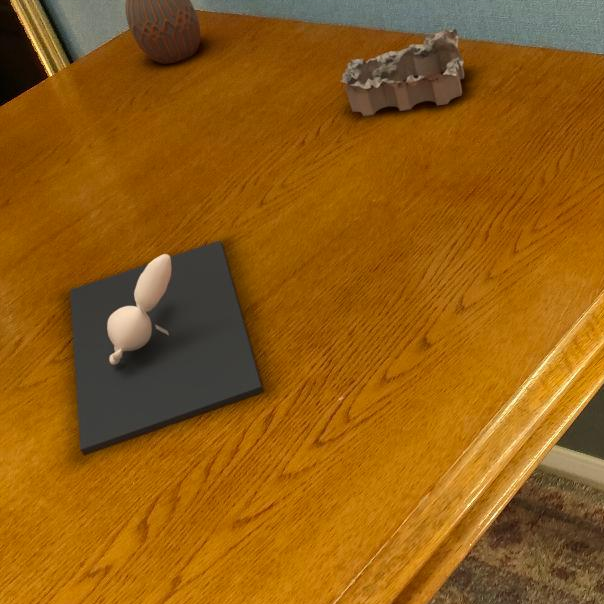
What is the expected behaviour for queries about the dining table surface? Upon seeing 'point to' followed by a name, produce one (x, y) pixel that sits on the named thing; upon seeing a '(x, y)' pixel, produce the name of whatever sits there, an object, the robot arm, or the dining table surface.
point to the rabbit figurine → (139, 310)
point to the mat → (161, 351)
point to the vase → (164, 28)
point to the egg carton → (407, 76)
